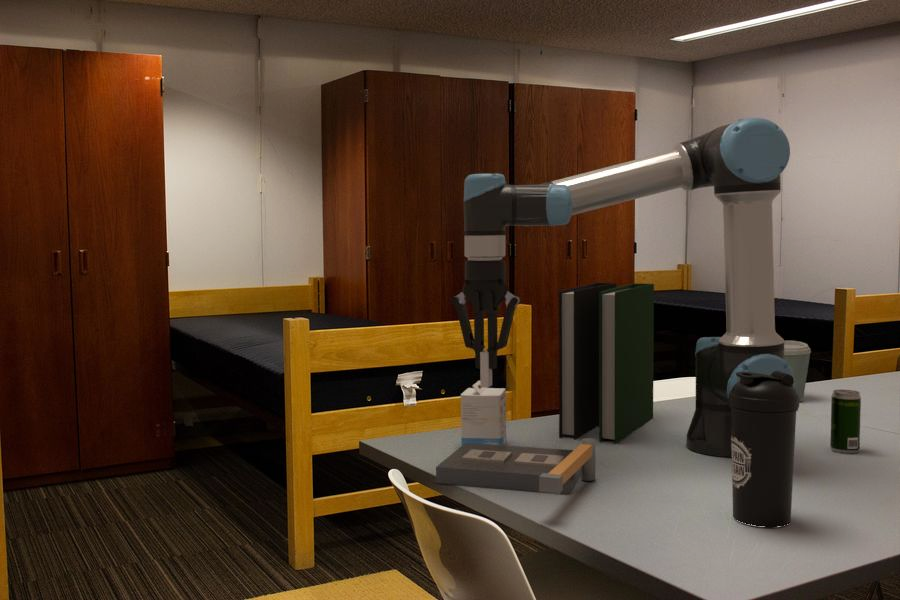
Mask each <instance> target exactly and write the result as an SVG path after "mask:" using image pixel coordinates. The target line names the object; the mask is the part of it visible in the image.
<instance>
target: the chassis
mask: <svg viewBox="0 0 900 600" xmlns="http://www.w3.org/2000/svg"><path fill="white" fill-rule="evenodd" d="M574 450H575V449H563V448H548V447H547V448H546V447H535V446H533V447H532V446H518V445H491V444H476V443H465V444H463V445H462V444H461V446H460V447H459V448H457V449H456V450H455V451H454V452H452V453H450V455H448V457H446V458H445V459H444V460H443V461H442V462H440V463H439V464H438V465H437V466H435V483H436V484H441V485H453V486H465V487H473V488H474V487H476V488H477V487H478V488H488V489H489V488H490V489H500V490H513V491H524V492H525V491H526V492H534V493H535V492H536V493H540V492H539V476H540V475H541V474H542V473H549V472H550V471H551V470H552V469H554V468H555V467H556V466H557V465H558V464H559V463H560V462H561V461H563V460H564V459H565V458H566V457H567V456H568V455H569V454H570V453H571V452H573V451H574ZM580 476H582V466H581V467H580V468H579V469H578V470H577V471H576V472H575V473H574V474H573V475H572V476H571V477H570V478H569V479H568V480H567V481H566V482H565V483H564V484H563V490H562V491H561V492H560V493H559V494H560V495H570V493H571V492H572V490H573V488H574V486H575V485H576V483H577V481H578V479H579V478H580ZM545 493H548V492H545ZM548 494H549V493H548ZM559 494H558V495H559Z"/></svg>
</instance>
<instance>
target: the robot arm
mask: <svg viewBox="0 0 900 600" xmlns="http://www.w3.org/2000/svg"><path fill="white" fill-rule="evenodd" d="M790 156H791V146H790V142H789V138H788V137H787V135H786V133H785V132H784V130H783V129H782V128H781V127H780V126H779V125H778V124H777V123H775V122H773V121H772V120H770V119H767V118H762V117H746V118H742V119H741V118H740V119H737V120H734V121H733V122H731V123H729V124H725V125H721V126H719V127H717V128H715V129H712V130H710V131H709V132H705V133H704V134H702V135H699V136H696V137H694V138H692V139H689V140H686V141H682V142H677V143H676V144H675V145H673V148H672V149H671V150H667V151H664V152H660V153H656V154H652V155H649V156H644V157H641V158H637V159H633V160H630V161H626V162H620V163H616V164H614V165H609V166H607V167H602V168H598V169H595V170H594V169H593V170H590V171H587V172H583V173H579V174H575V175H571V176H567V177H563V178H560V179H556V180H551V181H549V182H543V183H540V184H517V185H515V184H507V181H506V178H505V175H504V174H502V173H473V174H472V173H471V174H469V175H467V176H466V178H465V179H464V183H463V185H464V186H463V187H464V190H463V217H464V218H463V219H464V221H463V222H464V225H463V226H464V227H463V228H464V229H463V230H464V257H465V258H467V260H465V261H464V285H463V287H462V291H461V292H459V294H457V295H455V296H452V297H451V299H450V301H451V303H452V305H453V307H454V308H455V309H456V313H457V317H458V322H459V326H460V330H461V334H462V335H461V336H462V338H463V343H464V346H465V347H466V348H469V349H472V350H473V351H474V362H475V365H474V366H475V368H476V369H480V370H479V371H480V375H479V376H480V378H479V379H480V380H479V381H480V384H481V387H487V388H491V386H493V370H495V369H496V368H497V367H498V351H499V350H501V349H504V348H505V347H507V345H508V341H509V337H510V332H511V328H512V325H513V320H514V316H515V311H516V308H517V307H518V305H519V304H520V302H521V297H520V296H515V294H513V293H511V292H510V291H509V287H508V285H507V281H506V279H507V271H506V269H507V266H506V265H507V264H506V263H507V262H506V261H505V259H503V258H504V257H505V256H506V227H509V226H510V227H514V226H515V227H517V226H520V227H522V226H523V227H527V228H528V227H533V226H535V227H536V226H537V227H539V226H540V227H541V226H543V227H544V226H545V227H546V226H548V227H549V226H550V227H555V226H564V225H565V226H566V225H567V224H569V222H570V220H571V217H572V216H574V215H578V214H582V213H586V212H590V211H594V210H598V209H602V208H605V207H609V206H613V205H617V204H621V203H625V202H628V201H633V200H636V199H641V198H645V197H648V196H652V195H656V194H660V193H665V192H668V191H672V190H676V189H677V190H678V189H683V190H684V191H686V192H688V191H693V190H696V189H701V188H709V187H713V193H714V197H715V198H716V199H717V200H718V201H719V202H721V204H722V211H723V212H722V213H723V214H722V215H723V216H722V217H723V219H722V220H723V250H724V253H723V254H724V256H723V257H724V283H725V284H724V287H725V288H724V289H725V317H726V319H725V321H726V323H725V324H726V325H725V327H726V331H725V333H724V334H723V335H722V336H710V337H709V336H708V337H707V336H705V337H700V338H699V339H697V342H696V346H695V352H694V356H695V408H694V409H695V410H694V412H693V416H692V418H691V421H690V424H689V426H688V430H687V432H686V438H685V439H686V440H685V443H686V444H685V445H686V447H687V448H688V449H689V450H691V451H693V452H696V453H699V454H703V455H709V456H717V457H727V458H729V457H731V458H732V451H731V436H732V432H731V407H730V406H729V392H730V391H731V390H732V388H733V386H734V385H735V384H736V383H737V382H739V381H740V377H738V376H736V373H737V372H752V373H759V374H765V375H771V374H772V373H773V372H774V371H781V372H784V373H787V374H789V375H791V376H792V377H793V379H794V383H793V388H794V387H795V377H794V373H793V371H792V369H791V367H790V366H789V364H788V363H787V362H786V361H785V358H784V341H785V340H784V338H783V337H782V336H781V335H780V334H778V333H777V332H776V331H777V330H776V322H775V321H776V320H775V319H776V318H775V317H776V316H775V278H774V277H775V276H774V273H775V271H774V268H775V267H774V235H773V234H774V233H773V231H774V230H773V229H774V227H773V226H774V225H773V202H774V200H775V199H776V197H778V196H779V195H780V194H781V192H782V190H781V189H782V187H781V185H782V182H781V181H782V180H781V174H782V173H783V172H784V170H785V169H786V168H787V165H788V164H789V160H790ZM504 300H505V305H506V308H505V310H504V315H503V318H502V323H501V327H500V332H499V336H498V313H499V307H500V305H501V304H502V303H503V301H504ZM467 301H468V302H469V304H470V305H471V307H472V309H473V311H472V314H473V320H474V321H473V329H472V326H471V320H470V317H469V313H468V309H467V305H466V303H467ZM485 310H486V315H487V317H486V318H487V348H486V346H485ZM485 348H486V349H485ZM481 387H480V388H481Z"/></svg>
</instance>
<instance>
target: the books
mask: <svg viewBox="0 0 900 600" xmlns="http://www.w3.org/2000/svg"><path fill="white" fill-rule="evenodd" d="M617 285H618V284H617V283H616V282H593V283H588V284H585V285H579V286H575V287H570V288H566V289H561V290H558V412H559V413H558V415H559V416H558V424H559V425H558V428H559V429H558V431H559V432H558V433H559V434H558V435H559V436H558V438H559V439H562V438H564V436H566V435H570V436H573V440H574V441H575V440H577V439H579V438H580V437H582V436H584V435H585V434H587V433H589V432H591V431H592V430H594V429H596V428H597V427H598V428H599V429H598V442H599V443H602V442H604V440H606V439H608V440H614V445H617V444H618V443H620V442H621V441H623V440H624V439H626V438H627V437H629V436H630V435H631V434H633V433H634V432H636V431H637V430H638V429H640V428H642V427H644V425H645V424H648V423H649V422H650V421H652V420H653V419H654V361H655V360H654V352H655V351H654V350H655V349H654V347H655V345H654V342H655V341H654V339H655V337H654V336H655V335H654V333H655V326H654V325H655V320H654V319H655V284H654V283H635V282H634V283H628V284H625V285H621V286H617ZM625 437H626V438H625Z"/></svg>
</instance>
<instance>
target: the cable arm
mask: <svg viewBox="0 0 900 600" xmlns="http://www.w3.org/2000/svg"><path fill="white" fill-rule="evenodd" d="M573 450H574V451H573V452H571V453H570V454H569V455H568V456H567V457H566V458H565V459H564V460H563V461H561V462H560V463H559V464H558V465H557V466H556V467H555V468H554V469H552V470H551V471H550V472H549V473H542V474H541V475H540V476H539V492H538V493H546V492H548V494H556V495H557V494H558V495H559V493H560V492H561V491H562V490H563V484H564V483H565V482H566V481H567V480H568V479H569V478H570V477H571V476H572V475H573V474H574V473H575V472H576V471H577V470H578V469H579V468H580V467H581V466H582V473H581V480H582V481H587V482H591V481H595V480H596V439H595V438H593V437H584V438H582V439H581V443H580V444H578V446H577V447H575V449H573Z"/></svg>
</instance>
